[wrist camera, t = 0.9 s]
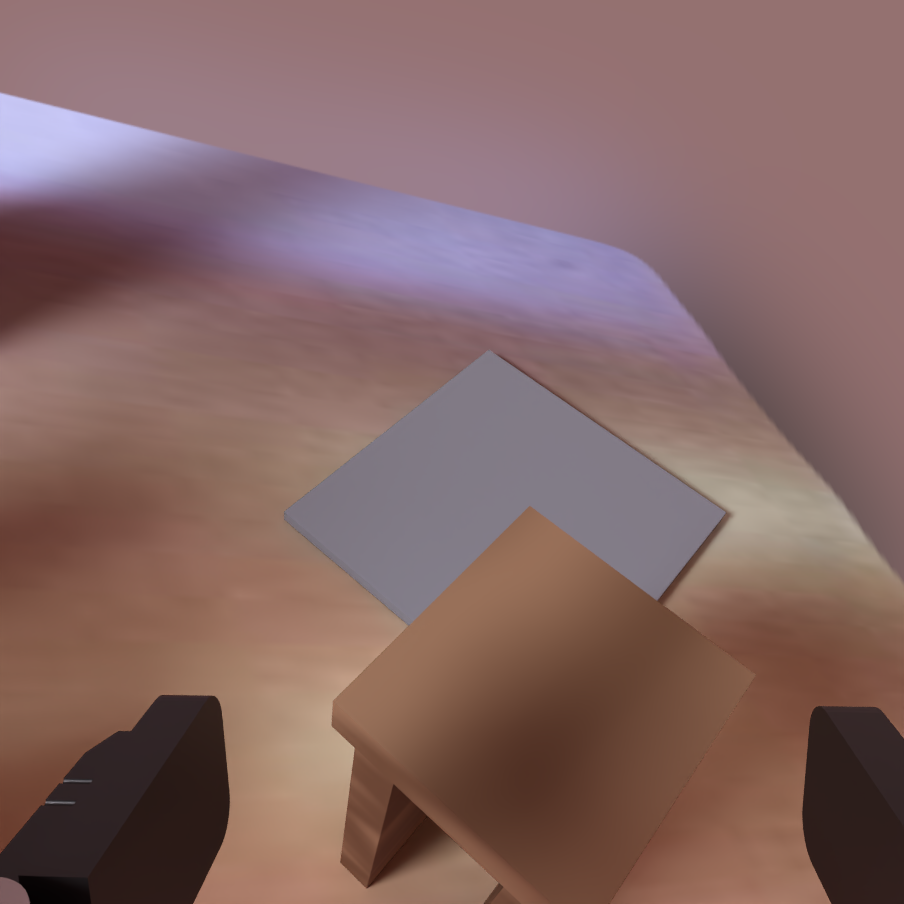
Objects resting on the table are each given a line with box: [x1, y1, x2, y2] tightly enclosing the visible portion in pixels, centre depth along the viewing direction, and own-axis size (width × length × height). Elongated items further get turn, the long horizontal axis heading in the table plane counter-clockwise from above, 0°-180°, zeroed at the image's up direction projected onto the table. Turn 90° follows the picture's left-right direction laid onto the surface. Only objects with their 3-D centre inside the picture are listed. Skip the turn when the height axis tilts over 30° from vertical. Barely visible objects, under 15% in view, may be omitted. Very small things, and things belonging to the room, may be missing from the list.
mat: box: [284, 350, 726, 625], centre depth 38 cm, size 14×14×1 cm
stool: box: [332, 506, 756, 904], centre depth 24 cm, size 6×7×14 cm
